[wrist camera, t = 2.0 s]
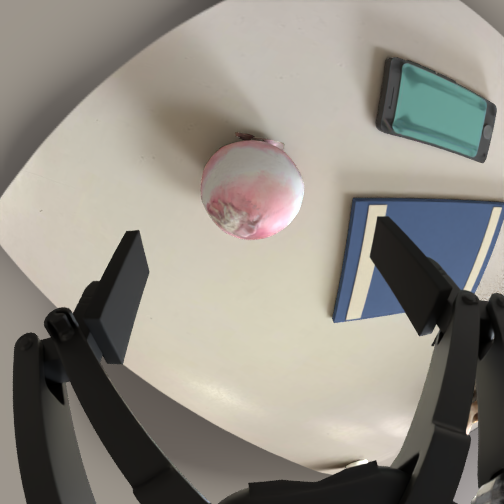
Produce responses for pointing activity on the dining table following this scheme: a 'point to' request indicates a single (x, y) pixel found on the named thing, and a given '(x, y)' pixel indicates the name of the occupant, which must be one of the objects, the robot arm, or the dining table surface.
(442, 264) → the towel
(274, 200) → the onion
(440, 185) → the dining table surface
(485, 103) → the smartphone
